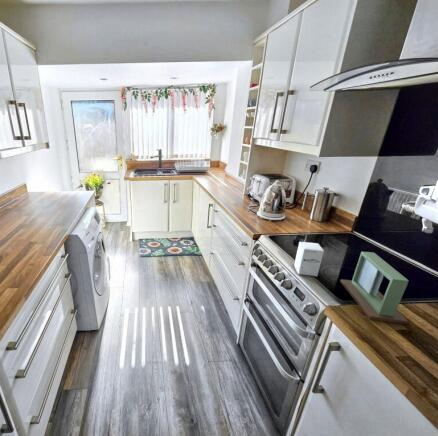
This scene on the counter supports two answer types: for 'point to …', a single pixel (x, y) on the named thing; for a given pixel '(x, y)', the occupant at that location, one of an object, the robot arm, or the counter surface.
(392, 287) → the window frame
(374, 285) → the sliding pane
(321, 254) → the white packaging box
